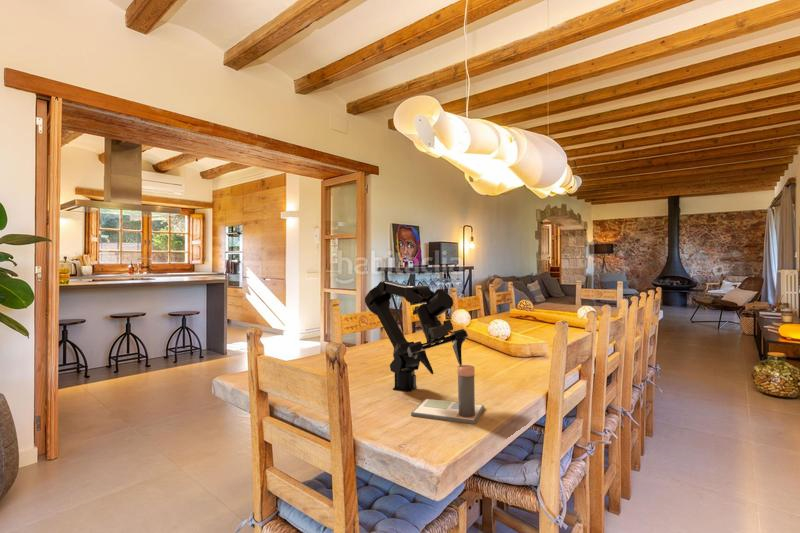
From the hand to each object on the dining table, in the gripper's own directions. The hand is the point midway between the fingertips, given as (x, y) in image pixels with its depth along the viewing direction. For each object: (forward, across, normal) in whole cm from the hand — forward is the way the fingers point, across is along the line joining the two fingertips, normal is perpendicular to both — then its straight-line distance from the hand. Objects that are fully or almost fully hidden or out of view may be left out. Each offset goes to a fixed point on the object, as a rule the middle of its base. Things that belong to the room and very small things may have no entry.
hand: (446, 369), depth 125 cm
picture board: (+12, -4, -1) cm, 12 cm away
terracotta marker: (+14, -1, -6) cm, 15 cm away
